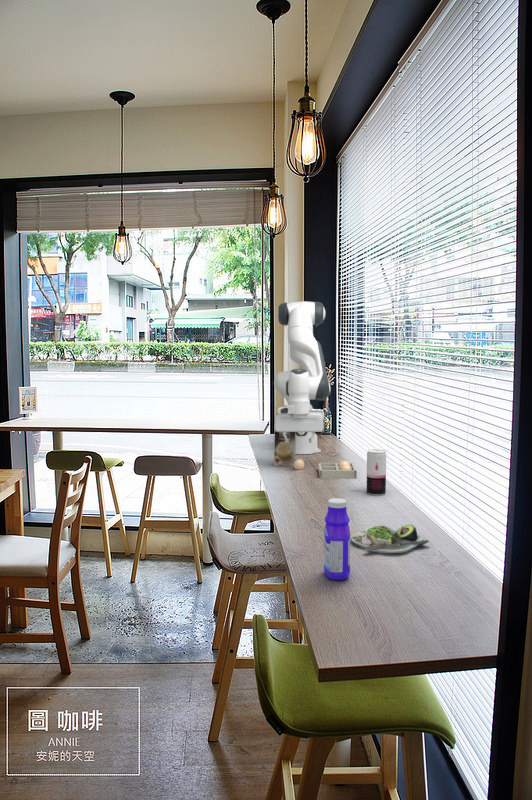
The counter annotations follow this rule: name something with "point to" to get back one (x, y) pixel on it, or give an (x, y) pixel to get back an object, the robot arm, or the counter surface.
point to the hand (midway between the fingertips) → (298, 442)
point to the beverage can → (376, 472)
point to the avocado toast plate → (389, 539)
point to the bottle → (337, 541)
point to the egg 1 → (298, 464)
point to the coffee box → (284, 449)
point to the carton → (336, 471)
